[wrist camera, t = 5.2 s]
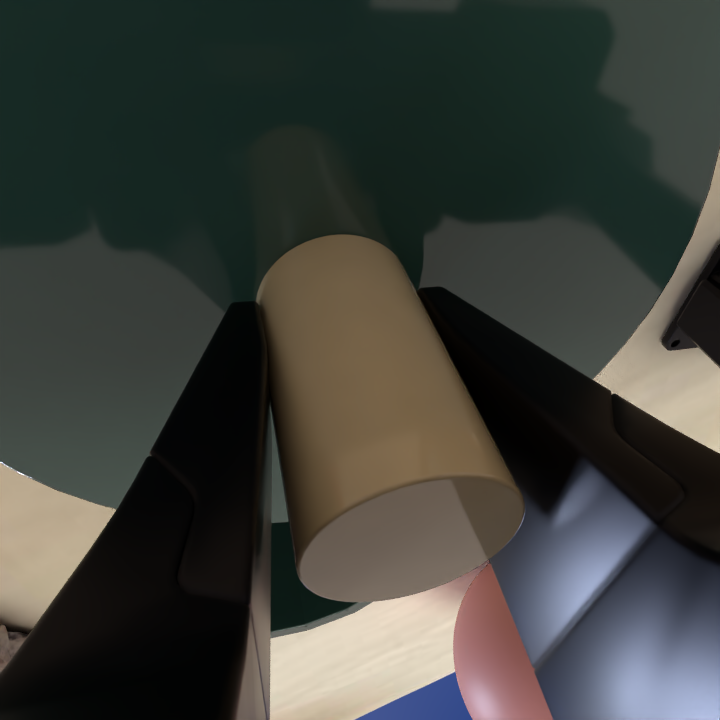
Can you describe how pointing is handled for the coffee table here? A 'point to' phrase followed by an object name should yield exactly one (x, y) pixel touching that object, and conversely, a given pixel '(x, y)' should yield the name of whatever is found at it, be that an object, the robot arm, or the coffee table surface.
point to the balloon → (494, 657)
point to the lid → (335, 236)
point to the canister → (297, 592)
